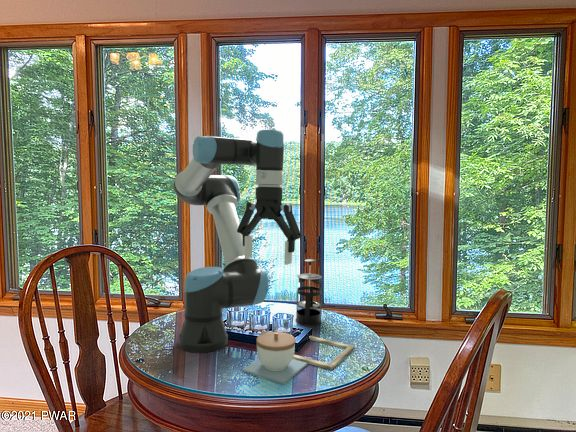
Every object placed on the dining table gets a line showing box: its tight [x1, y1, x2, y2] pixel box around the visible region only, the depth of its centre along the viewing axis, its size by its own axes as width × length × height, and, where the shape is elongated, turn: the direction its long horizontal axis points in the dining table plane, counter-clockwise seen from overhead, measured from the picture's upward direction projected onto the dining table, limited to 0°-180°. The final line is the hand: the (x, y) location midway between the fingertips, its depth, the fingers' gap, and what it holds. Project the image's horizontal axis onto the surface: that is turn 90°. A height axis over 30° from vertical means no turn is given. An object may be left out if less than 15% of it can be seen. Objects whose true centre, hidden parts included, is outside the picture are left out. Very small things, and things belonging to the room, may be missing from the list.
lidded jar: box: [255, 331, 297, 371], centre depth 111 cm, size 11×11×9 cm
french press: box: [295, 258, 323, 326], centre depth 150 cm, size 12×9×23 cm
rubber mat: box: [241, 358, 308, 385], centre depth 112 cm, size 13×13×1 cm
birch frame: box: [293, 335, 355, 371], centre depth 123 cm, size 17×17×1 cm
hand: (267, 260), depth 116 cm, fingers open, 13 cm apart
